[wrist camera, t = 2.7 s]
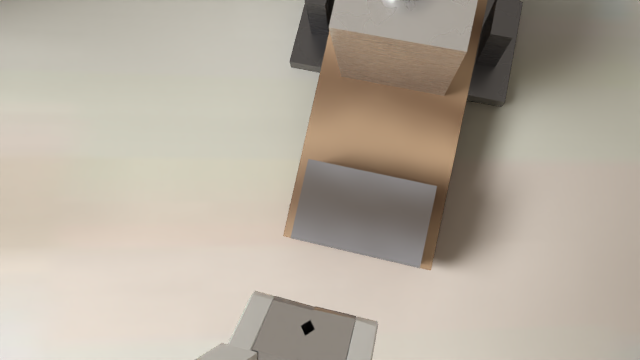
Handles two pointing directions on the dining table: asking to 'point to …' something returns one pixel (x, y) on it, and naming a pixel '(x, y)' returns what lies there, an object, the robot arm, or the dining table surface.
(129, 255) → the dining table surface
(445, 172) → the beam
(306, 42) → the fulcrum
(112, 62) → the dining table surface
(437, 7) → the block
